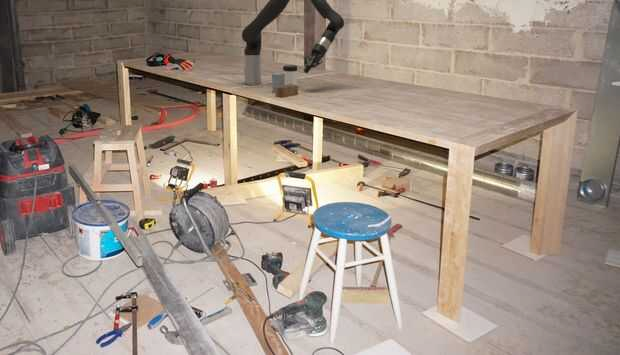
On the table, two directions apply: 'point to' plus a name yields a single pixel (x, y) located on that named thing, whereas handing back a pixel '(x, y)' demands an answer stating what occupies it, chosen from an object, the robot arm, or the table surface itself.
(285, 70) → the jar
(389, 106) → the table surface
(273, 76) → the grey block
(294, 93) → the walnut block
